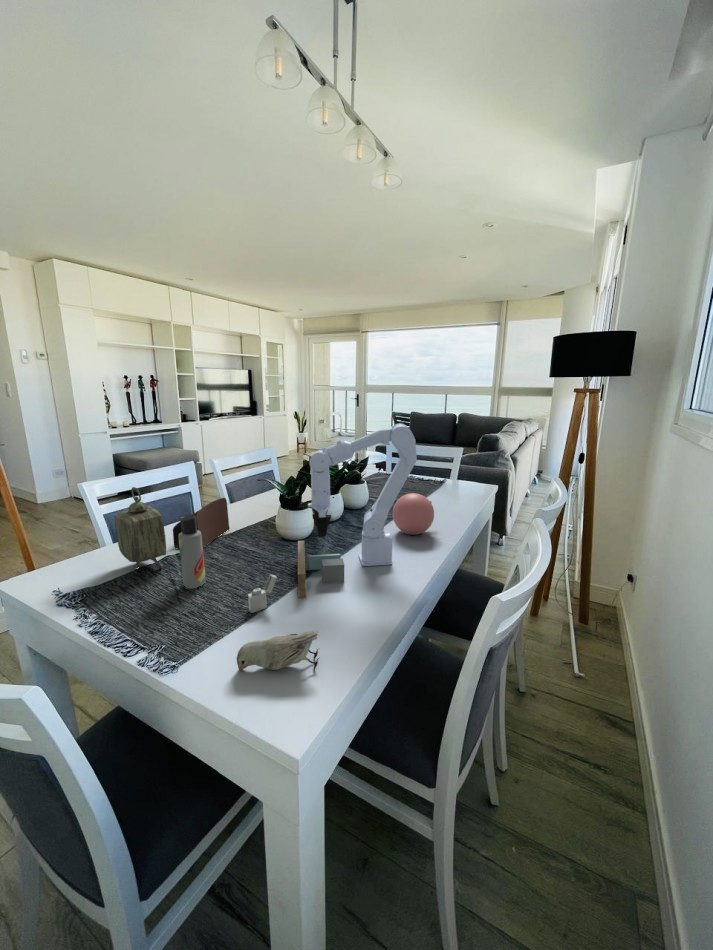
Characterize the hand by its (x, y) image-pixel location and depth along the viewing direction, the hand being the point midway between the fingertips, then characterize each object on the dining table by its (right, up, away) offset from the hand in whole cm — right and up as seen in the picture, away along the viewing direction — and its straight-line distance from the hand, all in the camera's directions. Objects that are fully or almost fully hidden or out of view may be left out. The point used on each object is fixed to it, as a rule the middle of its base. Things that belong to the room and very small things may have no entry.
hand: (321, 531), depth 120 cm
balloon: (+34, -4, +26) cm, 43 cm away
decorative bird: (-4, -21, -44) cm, 49 cm away
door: (+1, -10, -4) cm, 11 cm away
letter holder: (-44, -6, +18) cm, 48 cm away
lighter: (-12, -16, -24) cm, 31 cm away
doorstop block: (+4, -12, -10) cm, 17 cm away
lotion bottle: (-34, -13, -13) cm, 39 cm away
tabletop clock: (-54, -10, -3) cm, 55 cm away
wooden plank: (-5, -12, -9) cm, 16 cm away
